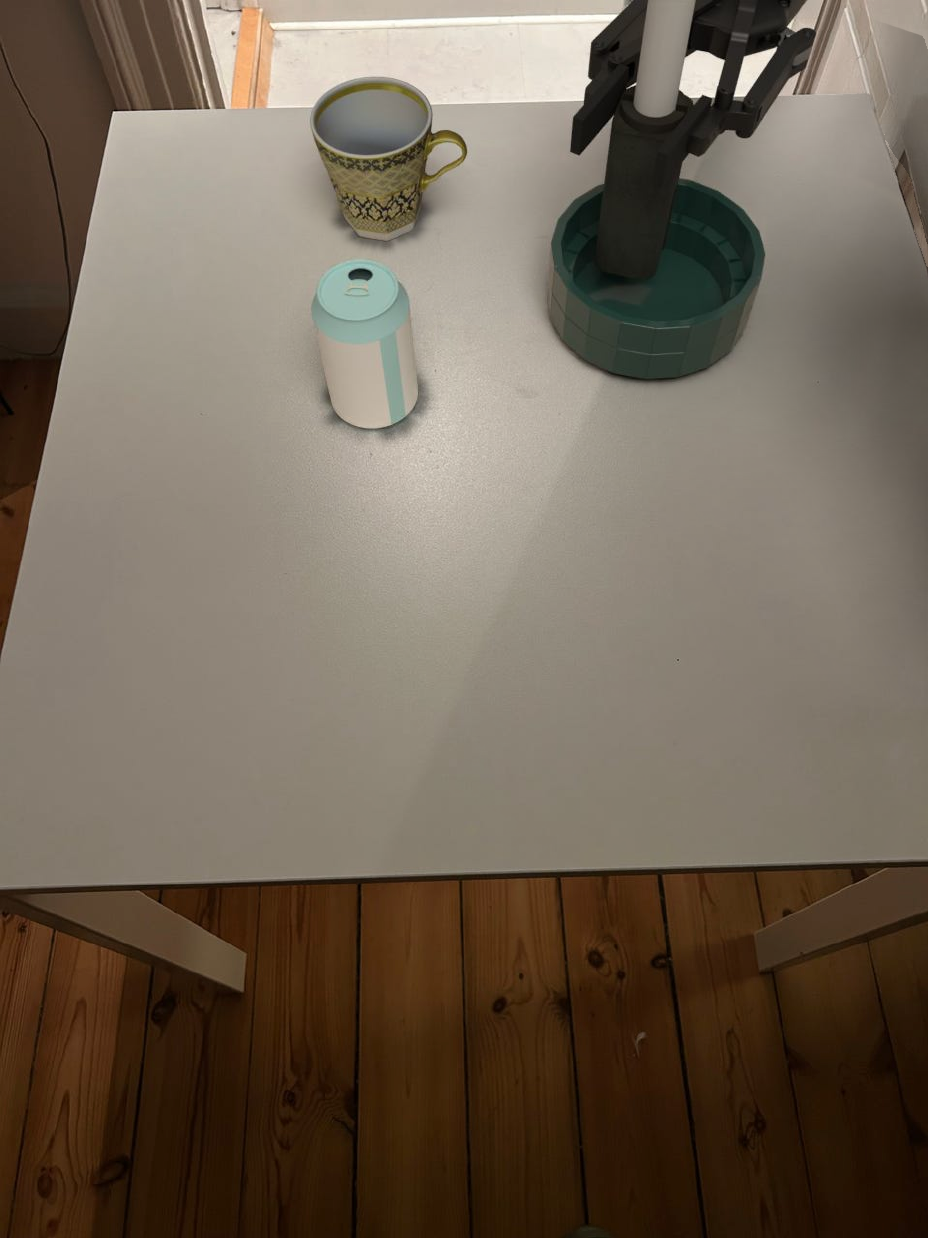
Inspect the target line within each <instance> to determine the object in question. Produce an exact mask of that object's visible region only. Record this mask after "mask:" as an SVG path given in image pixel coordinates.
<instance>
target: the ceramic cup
mask: <svg viewBox="0 0 928 1238" xmlns="http://www.w3.org/2000/svg"><path fill="white" fill-rule="evenodd" d="M433 116H434V115H433V108H432V105H431V103H430V101H429V99H428V97H427V96H426V95H425V94H424V93H423V92H422V91H421V90H420V89H419V88H417V87H416V86H414V85H412V83H411V84H410V83H409V82H406V81H403V80H400V79H397V78H393V77H388V76H387V77H386V76H364V77H358V78H353V79H349V80H346V81H343V82H342V83H339V84H337V85H336V86H334V87H331V88H330V89H328V90H327V91H326V92H324V93H323V94H322V95H321V96H320V97H319V98H318V100H317V101H316V102H315V104H314V105H313V108H312V109H311V113H310V119H309V124H310V129H311V133H312V137H313V140H314V144H315V146H316V148H317V150H318V153H319V156H320V159H321V161H322V163H323V165H324V167H325V169H326V171H327V174H328V177H329V180H330V182H331V185H332V188H333V190H334V193H335V195H336V198H337V201H338V204H339V207H340V209H341V211H342V215H343V217H344V219H345V221H347V223H348V224H349V225H350V227H351V228H352V229H353V230H354V232H355V233H356V235H358V237H361V238H365V239H371V240H372V239H373V240H379V241H386V242H389V241H391V240H394V239H395V238H398V237H400V236H403V235H404V234H408V233H410V232H412V231H413V230H414V229H415V227H416V224H417V221H418V218H419V216H420V213H421V210H422V208H421V207H422V200H423V192H425V191H426V190H427V188H428V186H430V185H431V184H432V183H433V182H435V181H437V180H438V179H439V178H441V176H443V175H444V174H445V173H447V172H449V171H451V170H453V169H455V168H457V167H459V166H460V165H462V164H463V163H464V161H465V160H466V158H467V156H468V147H467V144H466V141H465V140H464V138H463V137H462V136H461V134H459V133H457V132H456V131H453V130H450V129H442V130H441V129H440V130H437V131H436V132H432V128H433ZM444 143H445V144H446V143H448V144H449V143H451V144H455V145H456V146H458V147H459V148H460V150H461V153H462V154H461V156H460V157H459V158H457V159H456V160H454V161H452V162H450V163H447V164H445V165H444V166H443V167H441V168H440V169H439V170H438V171H437V172H436V173H434V174H431V175H429V174H427V172H426V169H427V162H428V156H429V155H430V154H431V153H432V151H433V150H434V148H435V147H436V146H438V145H440V144H444Z"/></svg>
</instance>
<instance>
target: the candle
mask: <svg viewBox="0 0 928 1238" xmlns="http://www.w3.org/2000/svg"><path fill="white" fill-rule="evenodd" d="M695 1H696V0H648V5H647V12H646V19H645V26H644V33H643V40H642V47H641V54H640V61H639V68H638V75H637V82H636V83H635V84H634V85H632V86H630V87H628V88H627V89H626V90H625V91H624V92H623V94H622V97H621V99H620V102H619V104H618V107H617V109H616V112H615V114H614V116H613V117H612V118H611V120H612V121H611V125H610V126H611V127H610V134H609V141H608V150H607V158H606V159H607V160H606V166H605V175H604V182H603V184H604V189H603V197H602V205H601V213H600V221H599V229H598V237H597V245H596V253H595V265H596V267H597V268H598V269H600V270H601V271H604V272H607V273H611V274H616V275H620V276H625V277H629V278H633V279H638V280H648V279H650V278H652V277H654V276H655V274H656V273H657V268H658V263H659V258H660V254H661V251H662V250H664V249H665V245H666V240H667V235H668V230H669V225H670V220H671V216H672V211H673V206H674V201H675V196H676V191H677V186H678V181H679V178H680V175H681V173H682V172H681V171H682V166H683V162H682V163H681V165H680V166H679V167H678V168H677V170H676V171H675V172H674V174H673V175H672V176H671V177H670V179H669V180H668V181H667V183H666V184H665V185H664V186H663V188H662V189H659V188H657V187H655V186H652V179H653V174H654V168H655V162H656V157H657V151H658V150H659V148H660V147H661V146H662V145H663V143H664V142H665V141H666V140H667V138H668V137H669V136H670V135H671V133H672V132H673V131H674V130H675V128H676V127H677V126H678V125H679V123H680V122H681V121H682V120H683V118H684V117H685V116H686V115H687V113H688V112H689V111H690V110H691V108H692V107H693V106H694V105H695V103H694V101H693V100H692V98H691V97H689V95H686V94H685V93H684V92H683V91H681V89H680V86H681V80H682V75H683V69H684V65H685V60H686V58H685V54H686V49H687V44H688V38H689V33H690V27H691V22H692V17H693V11H694V6H695Z"/></svg>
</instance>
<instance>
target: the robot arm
mask: <svg viewBox="0 0 928 1238" xmlns="http://www.w3.org/2000/svg"><path fill="white" fill-rule="evenodd" d="M807 1H808V0H696V1H695V6H694V11H693V17H692V22H691V27H690V33H689V38H688V44H687V49H686V54H685V59H686V58H688V57H689V56H691V55H693V53H695V52H697V51H699V52H704V53H709V54H710V55H712V56H714V57H715V58H717V59H720V60H722V61H724V62H723V65H722V69H721V72H720V76H719V79H718V84H717V86H716V89H715V94H714V99H713V97H710V96H707V95H706V94H705V95H704V94H702V95H701V96H700V97H699V98H698V99H697V101H696V102H695V103H694V106H693V107H692V108H691V110H690V111H689V112H688V113H687V115H686V116H685V117H684V118H683V120H682V121H681V122H680V123H679V125H678V126H677V127H676V128H675V130H674V131H673V132H672V133H671V135H670V136H669V137H668V138H667V140H666V141H665V142H664V143H663V145H662V146H661V147H660V148H659V150H658V151H657V157H656V162H655V168H654V174H653V179H652V186H655V187H657V188H659V189H662V188H663V186H664V185H665V184H666V183H667V181H668V180H669V179H670V177H671V176H672V175H673V174H674V172H675V171H676V170H677V168H678V167H679V166H680V165H681V163H682V164H683V163H684V161H685V160H686V158H687V157H688V156H689V155H693V156H695V157H698V158H699V157H701V156H703V155H705V154H706V152H707V151H708V150H709V149H710V147H711V146H712V145H713V144H714V142H715V141H716V139H717V138H718V137H719V136H720V135H722V134H724V133H725V131H733V132H734V133H735V135H736V136H737V137H738V138H740V139H750V138H751V137H752V136H753V135H754V133H755V132H756V130H757V128H758V127H759V126H760V124H761V122H762V121H763V120H764V118H765V116H766V115H767V113H768V112H769V111H770V109H771V108H772V105H774V102H775V101H776V100H777V98H778V97H779V95H780V93H781V92H782V90H783V89H784V87H785V86H786V84H787V83H788V81H789V80H790V79H791V78H793V77H794V76H796V75H797V74H799V73H801V72H802V71H803V70H806V68H807V66H808V63H809V59H810V56H811V53H812V49H813V46H814V43H815V39H816V36H817V31H816V30H815V29H813V28H811V27H802V28H800V29H799V30H797V31H794V30H793V29H791V28H790V27H788V26H789V25H790V23H792V21H793V20H794V19H795V17H796V16H797V15H798V14H799V12H800V11H801V9H802V8H803V7H804V5H805V4H806V3H807ZM647 5H648V0H632V1H631V2H630V3H629V4H628V5H626V6H625V7H624V8H623V10H622V11H621V12H620V13H619V14H617V16H616V17H614V19H613V20H611V21H610V22H609V23H608V25H606V27H604V29H602V30H601V32H599V34H597V35H596V36H595V37H594V39H592V40H591V42H590V47H589V49H590V50H589V60H588V70H587V78H588V79H589V80H591V81H590V82H589V83H588V84H587V85H586V86H585V89H584V94H583V95H584V96H583V105H582V106H581V107H580V108H579V109H578V111H577V112H576V113H575V114H574V115H573V116H572V124H571V134H570V135H571V137H570V146H569V147H570V148H569V153H571V154H574V155H575V156H576V155H577V156H581V155H582V154H583V152H584V151H585V150H586V149H587V147H588V146H589V145H590V144H591V142H593V140H594V139H595V138H596V137H597V136H598V134H599V133H600V132H601V131H602V130H603V129H604V127H605V126H607V124H608V123H609V122H610V120H612V119H613V116H614V114H615V112H616V109H617V107H618V104H619V102H620V99H621V97H622V94H623V92H624V91H625V90H626V89H628V88H630V87H632V86H634V85H636V82H637V75H638V68H639V61H640V54H641V47H642V40H643V33H644V26H645V19H646V12H647ZM773 49H776V50H775V51H774V53H773V54H772V56H771V58H770V59H769V61H768V62H767V63H766V65H765V67H764V68H763V69H762V71H761V72H760V74H759V75H758V77H757V78H756V80H755V81H754V82H753V84H752V86H751V87H750V89H749V90H748V92H747V93H746V95H745V96H744V97H743V100H737V99H734V98H735V93H736V90H737V87H738V86H737V85H738V81H739V78H740V75H741V70H742V67H743V63H744V59H745V57H749V56H753V55H756V54H759V53H763V52H766V51H769V50H773ZM712 102H713V103H712Z"/></svg>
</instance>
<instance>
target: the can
mask: <svg viewBox="0 0 928 1238" xmlns="http://www.w3.org/2000/svg"><path fill="white" fill-rule="evenodd" d="M311 317H312V322H313V326H314V329H315V336H316V340H317V344H318V349H319V354H320V358H321V362H322V367H323V371H324V376H325V380H326V384H327V390H328V393H329V398H330V402H331V405H332V409H333V410H334V412H335V413H336V414H337V415H338V417H340V418H341V420H343V421H345V422H346V423H348V424H349V425H352V426H355V427H358V428H363V429H380V428H386V427H389V426H392V425H394V424H397V423H398V422H400V421H402V420H403V419H405V418H406V417H407V416H408V415H409V414H410V413H411V412H412V411H413V409H414V408H415V405H416V403H417V401H418V397H419V385H418V375H417V364H416V355H415V354H416V353H415V345H414V344H415V343H414V335H413V324H412V316H411V304H410V297H409V295H408V292H407V290H406V288H405V287H404V286H403V284H402V283H401V282H400V281H399V280H398V278H397V276H396V274H395V273H394V271H393V270H392V269H391V268H389V267H388V266H387V265H385V264H383V263H381V262H379V261H375V260H371V259H365V258H355V259H349V260H345V261H342V262H339V263H337V264H335V265H334V266H332V267H330V268H329V269H328V270H326V272H325V273H323V275H322V276H321V278H320V279H319V280H318V283H317V286H316V292H315V294H314V296H313V298H312V302H311Z"/></svg>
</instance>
